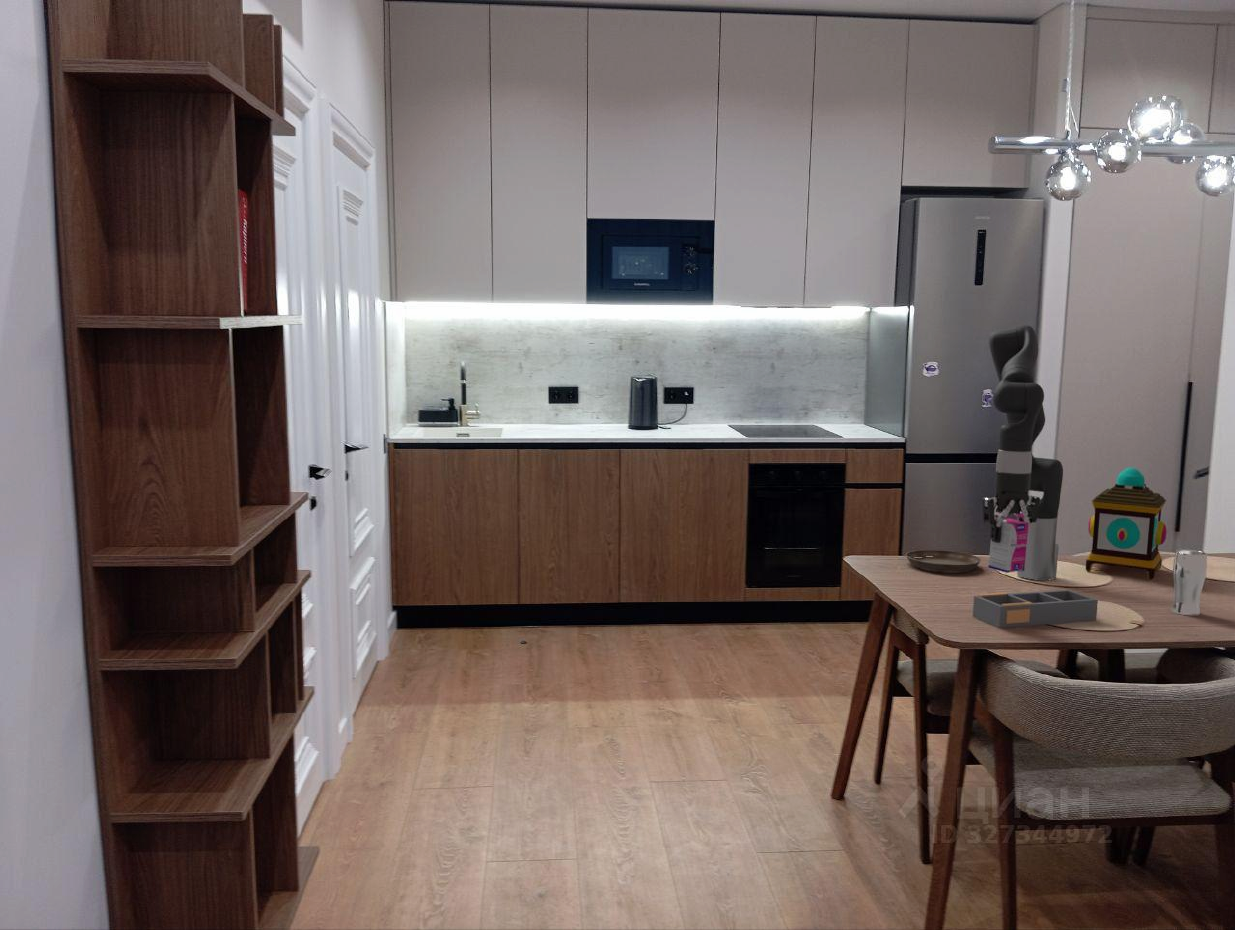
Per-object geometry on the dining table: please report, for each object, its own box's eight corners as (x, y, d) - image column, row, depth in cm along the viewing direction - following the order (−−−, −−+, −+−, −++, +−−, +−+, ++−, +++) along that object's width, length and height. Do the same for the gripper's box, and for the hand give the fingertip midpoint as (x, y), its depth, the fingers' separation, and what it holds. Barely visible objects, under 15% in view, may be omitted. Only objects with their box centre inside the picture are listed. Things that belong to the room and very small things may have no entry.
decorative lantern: (1079, 572, 279) (1087, 467, 275) (1091, 560, 295) (1099, 461, 292) (1158, 583, 268) (1168, 474, 264) (1166, 569, 284) (1175, 467, 280)
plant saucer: (895, 559, 293) (895, 548, 293) (962, 559, 294) (963, 548, 294) (920, 575, 273) (921, 564, 272) (992, 576, 274) (993, 564, 273)
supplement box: (1008, 573, 223) (1011, 524, 222) (987, 567, 228) (990, 519, 227) (1025, 570, 226) (1029, 522, 224) (1005, 565, 231) (1008, 517, 230)
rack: (1067, 609, 239) (1068, 588, 239) (1097, 620, 230) (1098, 598, 229) (972, 616, 232) (974, 594, 231) (999, 628, 222) (1001, 605, 222)
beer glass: (1201, 618, 234) (1207, 556, 232) (1168, 613, 237) (1174, 552, 235) (1202, 611, 239) (1208, 551, 238) (1170, 607, 243) (1175, 547, 241)
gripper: (1028, 467, 230) (1024, 537, 232) (976, 468, 226) (971, 539, 228) (1051, 471, 223) (1045, 543, 225) (997, 472, 219) (992, 546, 221)
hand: (1008, 541), depth 226 cm, fingers closed on supplement box, 6 cm apart
